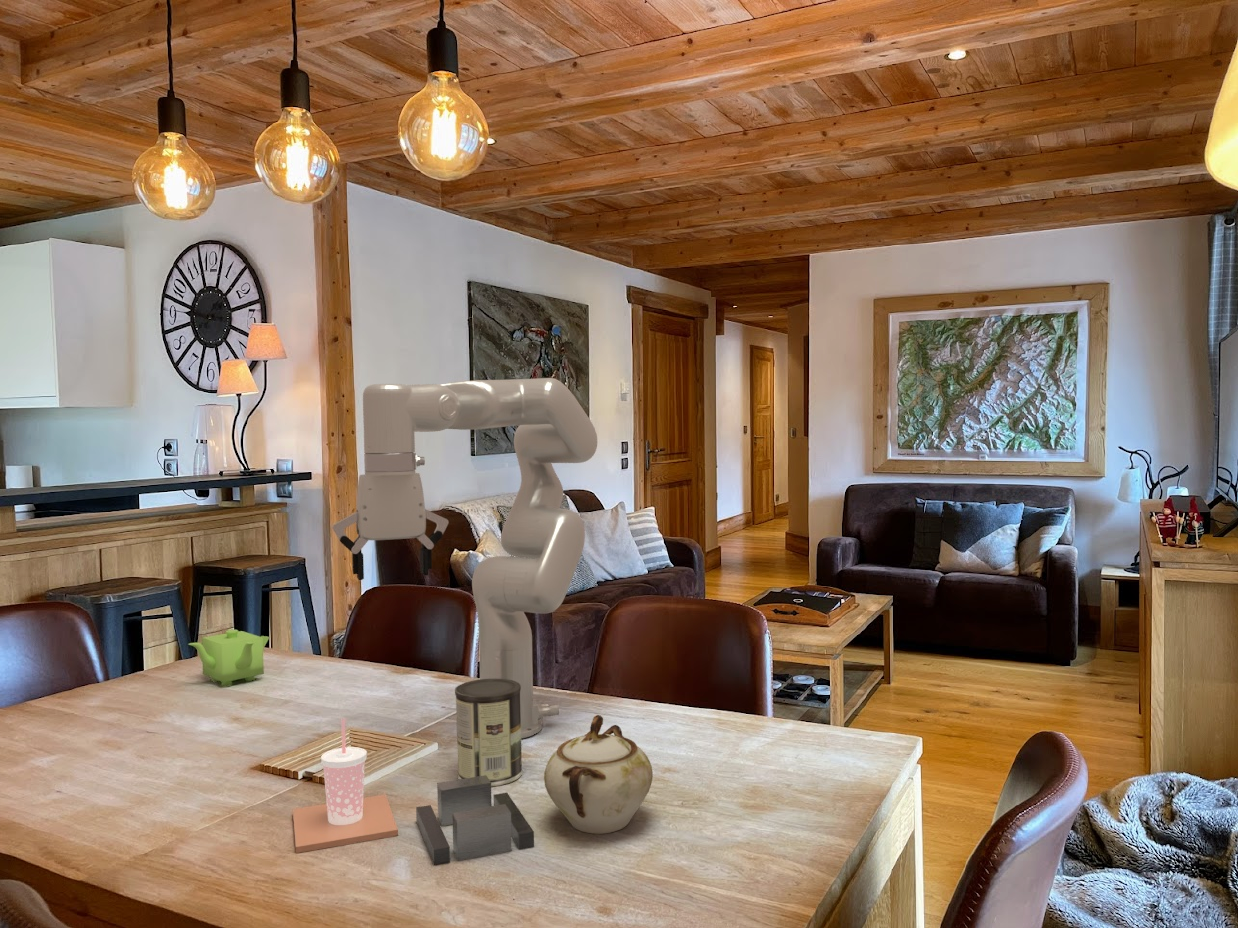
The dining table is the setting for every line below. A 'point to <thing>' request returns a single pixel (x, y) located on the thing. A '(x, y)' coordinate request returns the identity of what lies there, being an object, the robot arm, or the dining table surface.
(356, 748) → the beverage cup
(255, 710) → the dining table surface
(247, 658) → the kettle
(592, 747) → the sugar bowl
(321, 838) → the terracotta tile
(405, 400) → the robot arm
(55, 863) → the dining table surface
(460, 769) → the coffee can
